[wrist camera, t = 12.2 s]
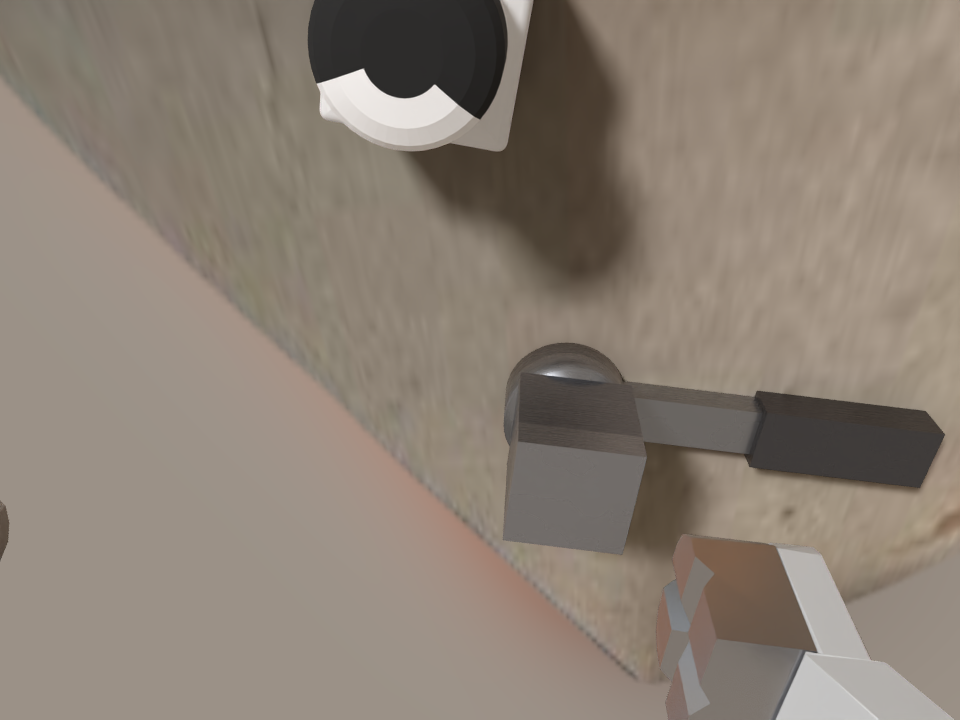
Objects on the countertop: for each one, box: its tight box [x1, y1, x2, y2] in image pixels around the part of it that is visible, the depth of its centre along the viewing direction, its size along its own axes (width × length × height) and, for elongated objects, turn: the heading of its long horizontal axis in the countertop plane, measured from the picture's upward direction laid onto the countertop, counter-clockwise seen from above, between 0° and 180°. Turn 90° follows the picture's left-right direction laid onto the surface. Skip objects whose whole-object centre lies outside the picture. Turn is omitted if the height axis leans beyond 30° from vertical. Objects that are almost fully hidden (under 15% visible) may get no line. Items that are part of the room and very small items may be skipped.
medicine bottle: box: [308, 0, 533, 151], centre depth 28 cm, size 7×7×12 cm
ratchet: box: [504, 343, 945, 488], centre depth 39 cm, size 22×6×7 cm, turn 84°
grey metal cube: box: [503, 372, 647, 555], centre depth 37 cm, size 6×6×6 cm
